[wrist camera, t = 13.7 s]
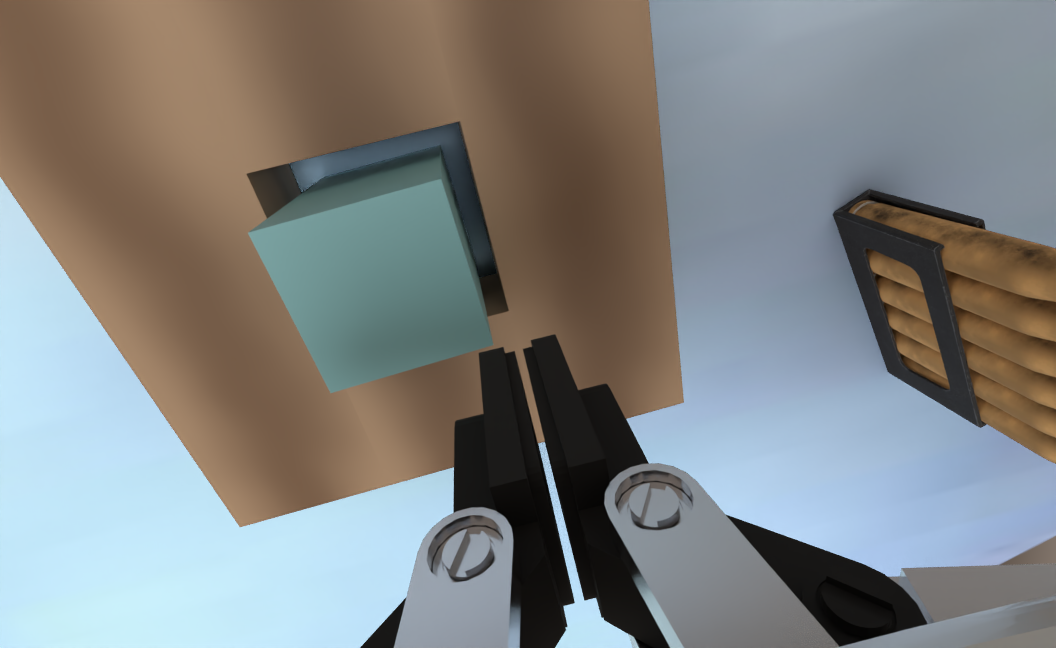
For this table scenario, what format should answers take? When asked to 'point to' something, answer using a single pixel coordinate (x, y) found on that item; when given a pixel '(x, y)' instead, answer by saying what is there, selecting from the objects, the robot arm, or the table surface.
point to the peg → (377, 270)
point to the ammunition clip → (959, 312)
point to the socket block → (268, 185)
